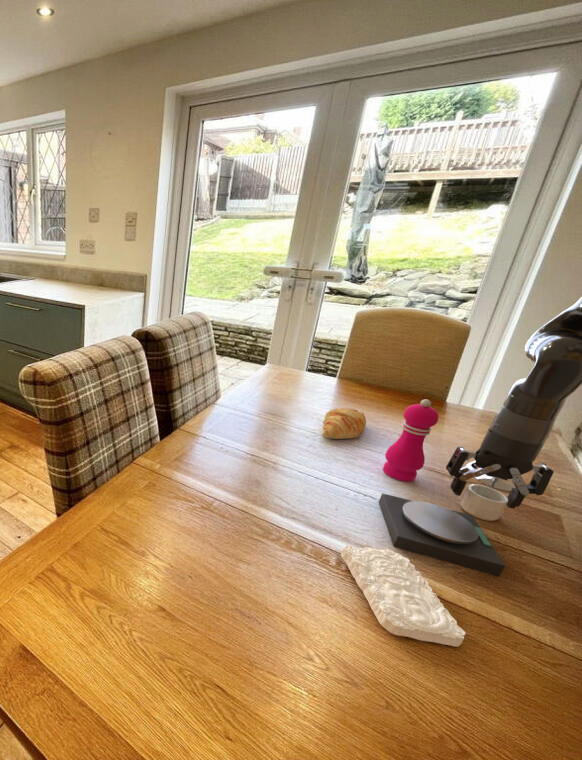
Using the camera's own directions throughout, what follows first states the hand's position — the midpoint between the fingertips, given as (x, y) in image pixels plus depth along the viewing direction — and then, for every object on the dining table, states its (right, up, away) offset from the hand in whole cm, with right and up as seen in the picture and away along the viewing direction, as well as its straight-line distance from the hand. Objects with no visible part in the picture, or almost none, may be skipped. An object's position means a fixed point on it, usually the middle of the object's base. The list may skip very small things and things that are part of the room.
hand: (481, 499), depth 82 cm
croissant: (-7, +10, +33) cm, 35 cm away
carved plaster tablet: (-33, -10, -18) cm, 39 cm away
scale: (-15, -5, -5) cm, 17 cm away
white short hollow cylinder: (0, -3, +1) cm, 3 cm away
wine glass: (+14, +1, +11) cm, 18 cm away
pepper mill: (-7, +2, +13) cm, 15 cm away
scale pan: (-15, -2, -7) cm, 17 cm away
